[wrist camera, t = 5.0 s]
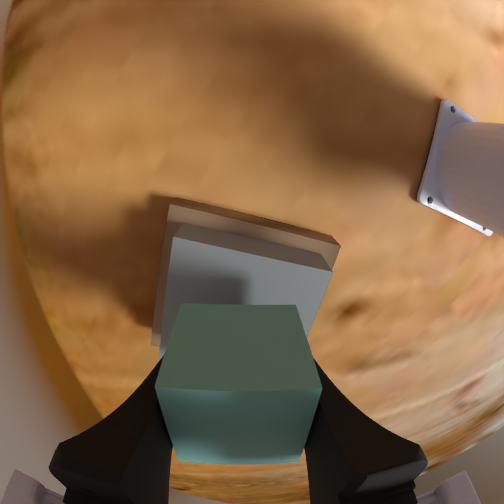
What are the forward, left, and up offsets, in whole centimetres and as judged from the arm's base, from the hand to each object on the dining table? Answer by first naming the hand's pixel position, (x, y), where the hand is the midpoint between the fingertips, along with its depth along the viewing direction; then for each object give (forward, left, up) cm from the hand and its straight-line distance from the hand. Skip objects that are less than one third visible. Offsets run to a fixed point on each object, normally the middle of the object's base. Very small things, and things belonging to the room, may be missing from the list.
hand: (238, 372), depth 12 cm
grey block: (0, 0, -6) cm, 6 cm away
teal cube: (0, 0, -2) cm, 2 cm away
